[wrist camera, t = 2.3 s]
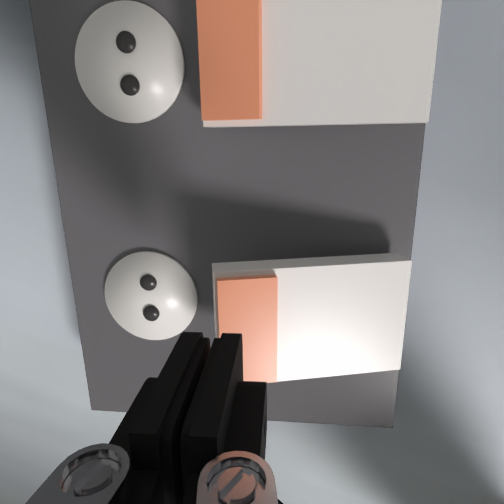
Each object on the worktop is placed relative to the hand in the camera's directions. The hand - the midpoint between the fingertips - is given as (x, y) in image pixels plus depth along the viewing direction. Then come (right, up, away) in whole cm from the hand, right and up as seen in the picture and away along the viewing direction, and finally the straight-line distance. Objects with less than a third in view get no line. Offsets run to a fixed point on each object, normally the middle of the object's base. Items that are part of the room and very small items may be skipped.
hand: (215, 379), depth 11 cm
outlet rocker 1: (+3, +10, +1) cm, 10 cm away
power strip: (+1, +7, +7) cm, 10 cm away
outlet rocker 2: (+3, +1, +4) cm, 5 cm away
